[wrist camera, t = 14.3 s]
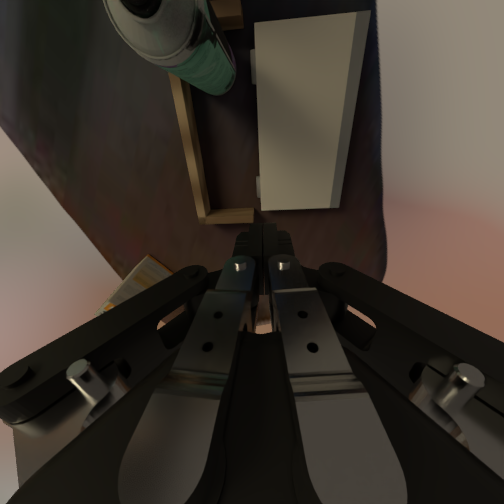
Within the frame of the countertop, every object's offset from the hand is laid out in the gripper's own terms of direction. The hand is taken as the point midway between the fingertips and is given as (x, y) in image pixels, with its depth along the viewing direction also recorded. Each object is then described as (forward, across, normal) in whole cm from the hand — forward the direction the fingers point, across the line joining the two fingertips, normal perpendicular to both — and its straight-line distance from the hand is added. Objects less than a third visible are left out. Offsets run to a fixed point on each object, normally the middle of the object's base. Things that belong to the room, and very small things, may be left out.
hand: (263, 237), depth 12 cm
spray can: (+23, +6, -12) cm, 27 cm away
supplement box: (+23, +23, +20) cm, 38 cm away
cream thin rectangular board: (+22, 0, -4) cm, 22 cm away
